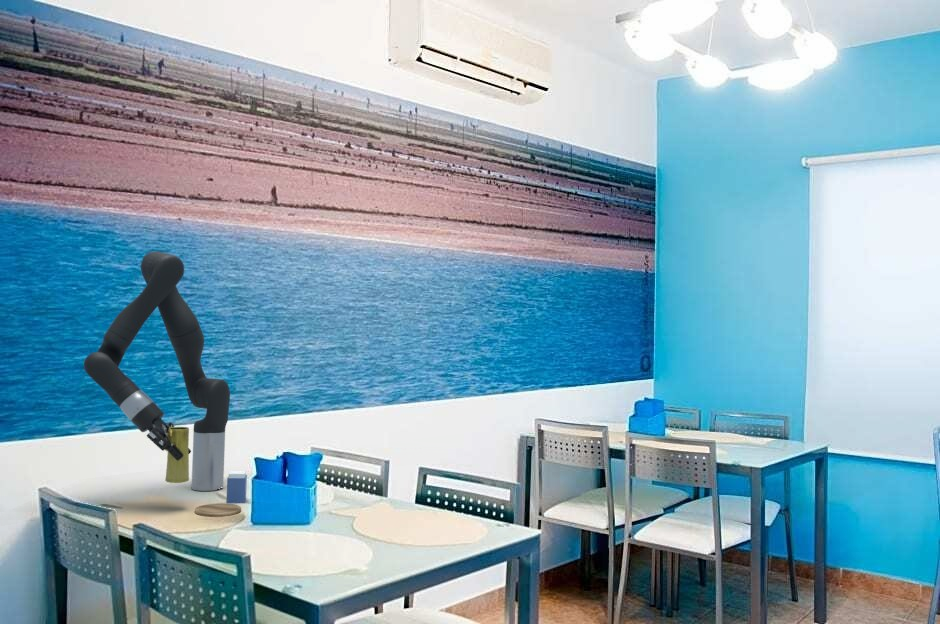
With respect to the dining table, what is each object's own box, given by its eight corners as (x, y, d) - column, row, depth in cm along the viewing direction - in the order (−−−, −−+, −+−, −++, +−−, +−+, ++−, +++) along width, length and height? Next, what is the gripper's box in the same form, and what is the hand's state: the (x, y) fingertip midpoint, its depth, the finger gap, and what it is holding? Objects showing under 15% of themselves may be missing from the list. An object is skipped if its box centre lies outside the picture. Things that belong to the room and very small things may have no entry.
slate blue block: (228, 499, 245) (229, 470, 245) (246, 499, 246) (247, 470, 246) (226, 503, 240) (227, 474, 240) (244, 503, 241) (245, 474, 241)
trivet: (202, 505, 236) (202, 502, 236) (246, 507, 236) (246, 503, 236) (188, 515, 224) (188, 512, 224) (234, 517, 224) (234, 513, 224)
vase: (181, 483, 227) (183, 430, 227) (160, 482, 229) (162, 428, 228) (193, 479, 233) (195, 427, 233) (173, 477, 235) (174, 425, 234)
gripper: (141, 404, 224) (186, 451, 224) (161, 398, 238) (203, 442, 238) (120, 424, 224) (165, 471, 224) (141, 416, 238) (183, 460, 238)
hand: (184, 456), depth 231 cm, fingers closed on vase, 5 cm apart
